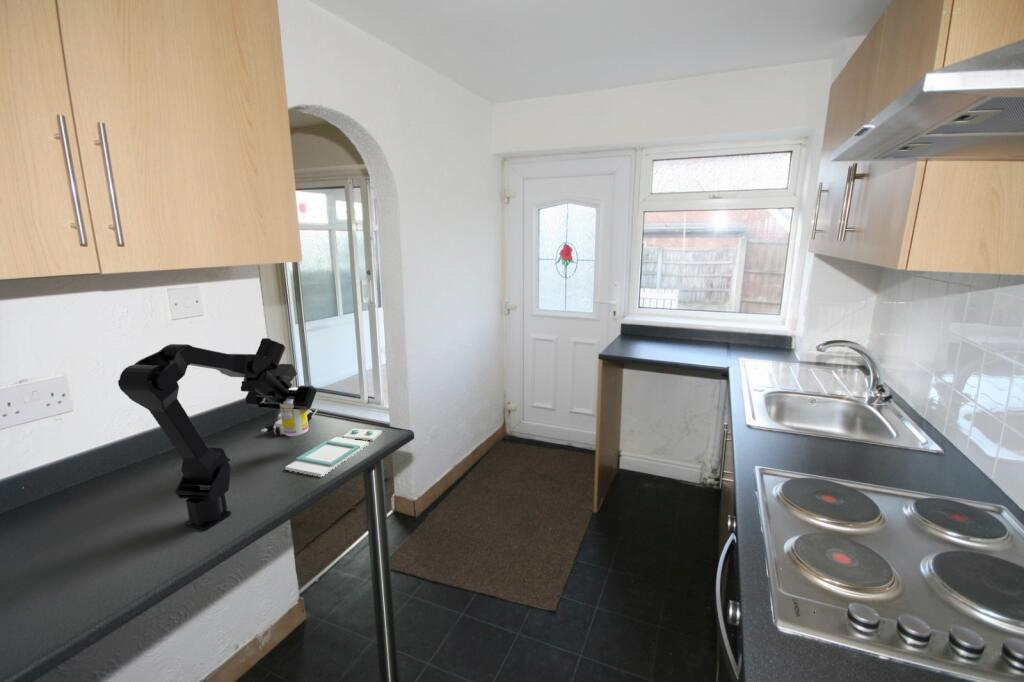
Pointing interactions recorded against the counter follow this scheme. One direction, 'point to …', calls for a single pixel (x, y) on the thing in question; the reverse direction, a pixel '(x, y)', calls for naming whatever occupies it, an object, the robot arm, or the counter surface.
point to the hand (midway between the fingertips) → (296, 408)
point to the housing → (326, 456)
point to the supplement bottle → (293, 418)
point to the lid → (363, 434)
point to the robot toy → (279, 427)
